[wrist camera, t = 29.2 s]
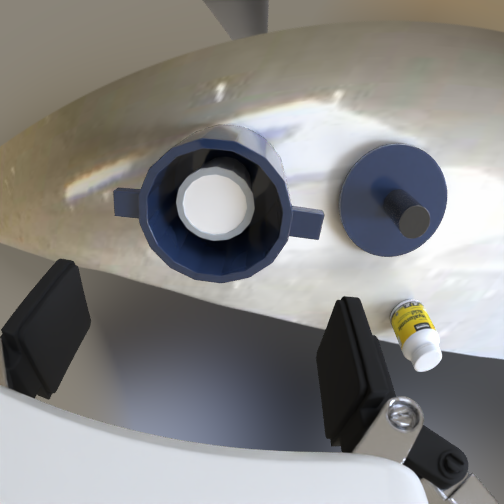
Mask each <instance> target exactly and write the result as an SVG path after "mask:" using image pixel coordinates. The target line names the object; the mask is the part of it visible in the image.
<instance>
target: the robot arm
mask: <svg viewBox="0 0 504 504" xmlns="http://www.w3.org/2000/svg"><path fill="white" fill-rule="evenodd" d="M90 323H91V319H90V315H89V311H88V307H87V303H86V300H85V295H84V291H83V287H82V282H81V278H80V273H79V269H78V266H76V265H75V263H74V261H71V260H65V259H59V260H57V261H56V262H55V264H54V265H53V266H52V267H51V268H50V269H49V270H48V272H47V273H46V274H45V275H44V276H43V277H42V279H41V280H40V281H39V282H38V283H37V285H36V286H35V287H34V288H33V289H32V291H31V292H30V293H29V294H28V295H27V297H26V298H25V299H24V300H23V302H22V303H21V304H20V305H19V307H18V308H17V309H16V311H15V312H14V313H13V315H12V316H11V317H10V319H9V320H8V321H7V323H6V324H5V325H4V327H3V328H2V329H1V331H2V333H3V334H2V335H1V337H0V504H499V503H498V502H497V500H496V499H495V498H494V497H493V496H492V494H491V493H490V492H489V491H488V490H487V488H486V487H485V486H484V485H483V484H482V482H481V481H480V480H479V479H478V478H477V476H476V475H475V474H474V473H471V474H469V473H468V461H467V458H466V456H465V454H464V453H463V452H462V451H461V450H460V449H459V448H457V447H456V446H454V445H452V444H451V443H450V442H448V441H447V440H445V439H444V438H442V437H441V436H439V435H438V434H436V433H435V432H433V431H431V430H430V429H429V428H427V427H426V426H424V425H423V422H424V415H423V412H422V410H421V408H420V407H419V405H418V404H417V403H416V402H414V401H413V400H412V399H409V398H407V397H401V396H398V397H396V395H395V391H394V388H393V385H392V382H391V378H390V375H389V372H388V369H387V365H386V362H385V359H384V356H383V353H382V350H381V347H380V344H379V341H378V339H377V337H376V336H375V335H372V333H371V330H370V327H369V324H368V321H367V318H366V315H365V312H364V309H363V306H362V303H361V301H360V299H359V298H357V297H346V296H344V297H342V299H341V300H337V301H336V303H335V306H334V308H333V311H332V314H331V317H330V319H329V322H328V325H327V328H326V330H325V333H324V335H323V338H322V341H321V344H320V346H319V348H318V351H317V357H316V361H317V368H318V376H319V384H320V392H321V399H322V409H323V418H324V426H325V435H326V438H327V439H330V440H331V446H341V450H342V452H343V453H333V452H332V453H331V452H289V451H288V452H287V451H271V450H270V451H269V450H255V449H243V448H233V447H224V446H216V445H208V444H201V443H195V442H189V441H182V440H176V439H172V438H166V437H161V436H156V435H151V434H147V433H143V432H138V431H134V430H130V429H126V428H122V427H118V426H115V425H111V424H108V423H104V422H101V421H97V420H94V419H90V418H87V417H84V416H81V415H78V414H75V413H72V412H69V411H66V410H63V409H61V408H58V407H55V406H52V405H49V404H47V403H45V402H42V401H39V400H37V399H35V396H36V395H38V396H41V397H44V398H46V399H50V397H51V395H52V393H55V392H56V391H57V389H58V387H59V385H60V383H61V381H62V379H63V377H64V375H65V373H66V371H67V369H68V367H69V365H70V363H71V361H72V359H73V357H74V355H75V353H76V352H77V350H78V348H79V346H80V344H81V342H82V340H83V339H84V337H85V335H86V333H87V331H88V329H89V327H90Z"/></svg>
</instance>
